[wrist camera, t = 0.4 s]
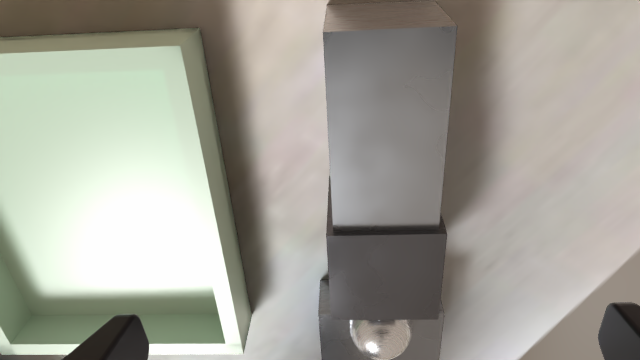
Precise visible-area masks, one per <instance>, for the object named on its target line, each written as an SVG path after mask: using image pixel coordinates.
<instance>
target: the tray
mask: <svg viewBox="0 0 640 360" xmlns="http://www.w3.org/2000/svg"><path fill="white" fill-rule="evenodd" d="M118 314H137V315H138V316H139V317H140V319H141V322H142V325H143V327H144V330H145V333H146V335H147V338H148V341H149V354H244V349H245V345H246V340H247V335H248V331H249V326H250V322H251V317H252V314H251V309H250V303H249V298H248V292H247V287H246V281H245V275H244V270H243V264H242V259H241V253H240V248H239V242H238V237H237V231H236V226H235V220H234V214H233V209H232V203H231V198H230V192H229V187H228V181H227V176H226V170H225V165H224V159H223V154H222V148H221V142H220V137H219V131H218V126H217V120H216V115H215V109H214V104H213V98H212V93H211V87H210V81H209V76H208V70H207V65H206V59H205V54H204V48H203V43H202V37H201V32H200V28H184V29H163V30H142V31H121V32H99V33H78V34H57V35H36V36H15V37H0V353H1V354H2V355H68V354H69V353H70V352H72V351H73V350H74V349H75V348H76V347H78V346H79V345H80V344H81V343H82V342H84V341H85V340H86V339H87V338H88V337H90V336H91V335H92V334H93V333H94V332H96V331H97V330H98V329H99V328H100V327H102V326H103V325H104V324H105V323H106V322H108V321H109V320H110V319H111V318H112V317H114V316H115V315H118Z"/></svg>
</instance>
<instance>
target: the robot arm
mask: <svg viewBox="0 0 640 360" xmlns="http://www.w3.org/2000/svg"><path fill="white" fill-rule="evenodd" d="M598 340H599V345H600V348H601V351H602V354H603V357H604V359H605V360H640V306H639V305H637V304H635V303H632V302H618V303H610V304H609V305H608V306H607V308H606V311H605V314H604V317H603V320H602V323H601V327H600V330H599V334H598ZM148 355H149V341H148V338H147V335H146V333H145V330H144V327H143V325H142V322H141V319H140V317H139V316H138V315H137V314H118V315H115V316H114V317H112V318H111V319H110V320H109V321H108V322H106V323H105V324H104V325H103V326H102V327H100V328H99V329H98V330H97V331H96V332H94V333H93V334H92V335H91V336H90V337H88V338H87V339H86V340H85V341H84V342H82V343H81V344H80V345H79V346H78V347H76V348H75V349H74V350H73V351H72V352H70V353H69V354H68V355H67V356H66V357H64V358H63V359H62V360H147V359H148Z"/></svg>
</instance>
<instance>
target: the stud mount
mask: <svg viewBox="0 0 640 360" xmlns="http://www.w3.org/2000/svg"><path fill="white" fill-rule="evenodd" d="M318 316H319V329H320V341H321V354H322V360H439V356H440V347H441V338H442V329H443V320H444V311H443V307H442V303H441V298H440V308H439V318H438V320H331V305H330V288H329V280H320V296H319V313H318Z"/></svg>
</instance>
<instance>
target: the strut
mask: <svg viewBox="0 0 640 360" xmlns="http://www.w3.org/2000/svg"><path fill="white" fill-rule="evenodd" d="M456 35H457V25H456V24H455V23H454V22H453V21H452V19H451V18H450V17H449V16H448V15H447V14H446V13H445V12H444V10H443V9H442V8H441V7H440V6H439V5H438V4H437V3H436V1H435V0H420V1H399V2H379V3H359V4H339V5H327V8H326V15H325V22H324V29H323V42H324V62H325V81H326V101H327V121H328V141H329V160H330V176H329V192H328V213H327V233H326V238H327V255H328V272H329V288H330V305H331V320H438V318H439V308H440V298H441V288H442V279H443V269H444V259H445V249H446V240H447V232H446V229H445V226H444V222H443V219H442V216H441V213H440V211H441V200H442V189H443V178H444V167H445V156H446V145H447V134H448V123H449V112H450V101H451V90H452V79H453V68H454V57H455V46H456Z"/></svg>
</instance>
